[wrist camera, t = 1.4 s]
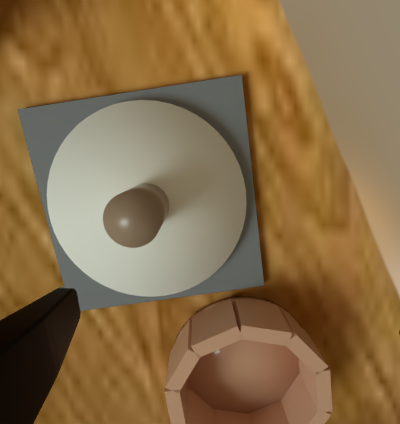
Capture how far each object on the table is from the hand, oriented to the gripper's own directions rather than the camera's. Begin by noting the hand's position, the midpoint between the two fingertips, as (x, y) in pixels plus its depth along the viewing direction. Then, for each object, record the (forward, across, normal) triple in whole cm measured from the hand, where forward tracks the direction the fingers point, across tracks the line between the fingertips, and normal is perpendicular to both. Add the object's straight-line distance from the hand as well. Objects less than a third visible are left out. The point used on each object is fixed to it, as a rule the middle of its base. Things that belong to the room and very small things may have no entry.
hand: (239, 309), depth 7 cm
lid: (+12, +5, +2) cm, 13 cm away
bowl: (+10, -2, +14) cm, 18 cm away
